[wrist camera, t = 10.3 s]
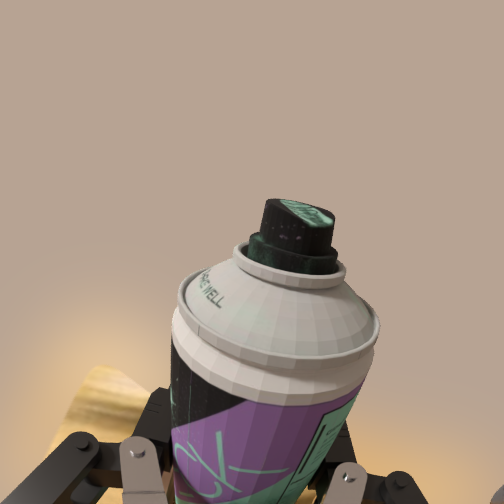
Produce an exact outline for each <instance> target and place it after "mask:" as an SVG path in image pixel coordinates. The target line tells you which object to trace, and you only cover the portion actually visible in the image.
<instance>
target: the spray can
mask: <svg viewBox="0 0 504 504" xmlns="http://www.w3.org/2000/svg"><path fill="white" fill-rule="evenodd" d="M334 223H335V216H334V215H333V214H332V213H331V212H330V211H328V210H325V209H322V208H319V207H315V206H312V205H309V204H305V203H301V202H297V201H291V200H285V199H268V200H267V201H266V204H265V209H264V213H263V218H262V223H261V227H260V232H257V233H254V234H252V235H251V236H250V239H249V241H247V242H243V243H240V244H238V245H237V246H235V248H234V251H233V258H232V259H229V260H226V261H224V262H222V263H220V264H218V265H215V266H213V267H207V268H204V269H201V270H198V271H196V272H194V273H192V274H191V275H189V276H187V277H186V278H185V279H184V280H183V282H182V283H181V284H180V287H179V291H178V307H177V308H176V309H175V311H174V315H173V319H172V339H171V435H172V458H173V474H174V487H175V499H176V504H295V502H296V501H297V499H298V498H299V496H300V495H301V493H302V492H303V491H304V489H305V488H306V486H307V485H308V483H309V481H310V480H311V478H312V477H313V475H314V474H315V472H316V470H317V469H318V467H319V466H320V464H321V462H322V461H323V459H324V457H325V456H326V454H327V452H328V451H329V449H330V447H331V445H332V444H333V442H334V440H335V438H336V436H337V435H338V433H339V431H340V429H341V427H342V425H343V423H344V421H345V420H346V418H347V416H348V414H349V412H350V410H351V408H352V406H353V403H354V402H355V399H356V397H357V395H358V393H359V391H360V389H361V387H362V384H363V382H364V380H365V378H366V376H367V373H368V371H369V369H370V366H371V364H372V361H373V356H374V349H373V346H374V345H375V343H376V340H377V338H378V335H379V330H380V322H379V319H378V316H377V314H376V313H375V311H374V310H373V308H372V307H371V306H370V305H369V304H368V303H367V302H366V301H365V300H363V299H362V298H361V297H359V296H358V295H357V294H356V293H355V292H354V291H353V290H352V288H351V287H350V286H349V285H348V284H347V283H346V282H345V281H344V278H345V274H346V268H345V267H344V265H343V264H342V263H341V262H340V261H338V260H337V257H338V252H337V251H336V249H334V248H333V247H331V243H332V236H333V230H334Z"/></svg>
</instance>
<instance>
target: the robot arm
mask: <svg viewBox="0 0 504 504" xmlns="http://www.w3.org/2000/svg"><path fill="white" fill-rule="evenodd" d="M172 465H173V458H172V435H171V384H170V386H169V389H164V388H160V387H159V388H158V389H157V390H155V391H154V392H153V393H151V396H150V398H149V400H148V402H147V404H146V406H145V408H144V410H143V413H142V415H141V417H140V419H139V421H138V423H137V426H136V428H135V430H134V432H133V434H132V436H131V437H129V438H127V439H125V440H124V441H123V442H120V443H106V442H98V440H97V439H96V438H95V437H94V436H93V435H92V434H90V433H87V432H75V433H72V434H70V435H69V436H68V437H67V438H66V439H65V440H64V441H63V442H62V443H61V444H60V445H59V446H58V447H57V448H56V449H55V450H54V451H53V452H52V453H51V454H50V455H49V456H48V457H47V458H46V459H45V460H44V461H43V462H42V463H41V464H40V465H39V466H38V467H37V468H36V469H35V470H34V471H33V472H32V473H31V474H30V475H29V476H28V477H27V478H26V479H25V480H24V481H23V482H22V483H21V484H20V485H19V486H18V487H17V488H16V489H15V490H14V491H13V492H12V493H11V494H10V495H9V496H8V497H7V498H6V499H4V500H3V502H1V503H0V504H96V503H97V502H98V500H99V499H100V498H101V497H102V495H103V494H104V493H105V491H106V490H107V489H108V487H113V488H123V493H122V498H123V504H168V502H167V498H166V494H165V491H164V487H163V483H162V475H163V472H164V471H165V472H169V473H170V472H171V468H172ZM308 490H316V497H315V498H314V500H313V502H312V504H428V502H427V501H426V499H425V497H424V496H423V494H422V493H421V491H420V489H419V488H418V486H417V484H416V483H415V481H414V479H413V478H412V477H411V476H410V475H409V474H408V473H406V472H403V471H395V472H392V473H391V474H389V475H388V476H387V477H383V476H377V475H372V474H368V473H367V472H366V470H365V469H364V468H363V467H362V466H360V465H359V464H357V461H356V458H355V454H354V450H353V446H352V442H351V438H350V435H349V431H348V427H347V424H346V420H345V421H344V423H343V425H342V427H341V429H340V431H339V433H338V435H337V436H336V438H335V440H334V442H333V444H332V445H331V447H330V449H329V451H328V452H327V454H326V456H325V457H324V459H323V461H322V462H321V464H320V466H319V467H318V469H317V470H316V472H315V474H314V475H313V477H312V478H311V480H310V481H309V483H308ZM490 504H504V485H503V486H502V487H501V488H500V489H499V490H498V491H497V492H496V493H495V494H494V496H493V498H492V499H491V502H490Z"/></svg>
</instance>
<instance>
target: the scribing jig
mask: <svg viewBox="0 0 504 504" xmlns="http://www.w3.org/2000/svg"><path fill="white" fill-rule="evenodd" d="M162 483H163V487H164V491H165V494H166V498H167V502H168V504H173V501H174V497H175V487H174V474H173V465H172V468H171V472H170V473H169V472H165V471H164V472H163V475H162Z"/></svg>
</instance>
